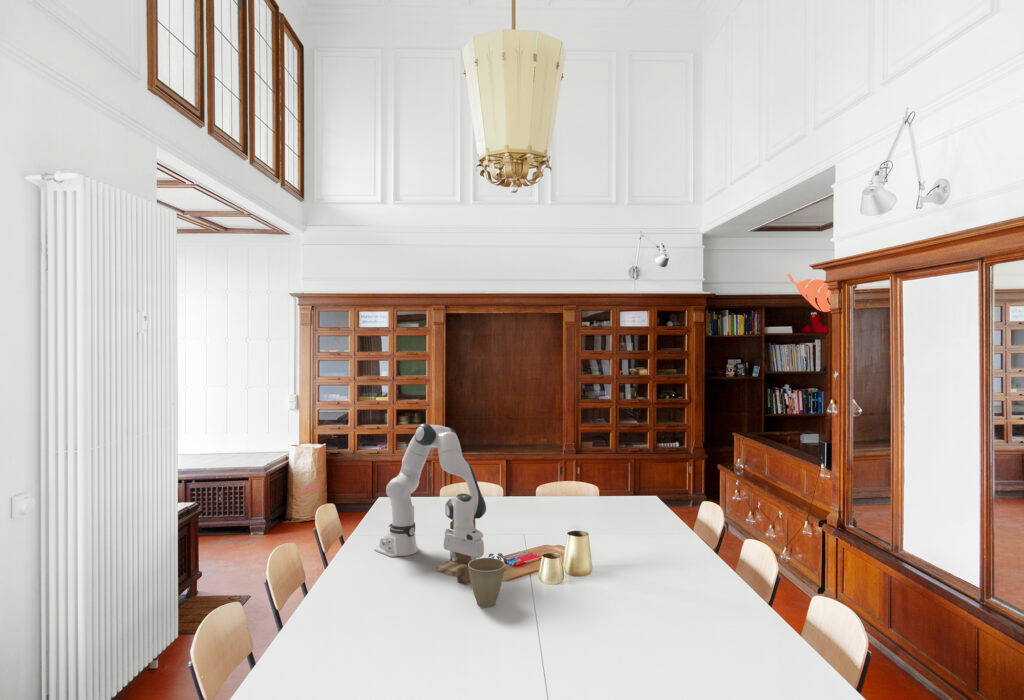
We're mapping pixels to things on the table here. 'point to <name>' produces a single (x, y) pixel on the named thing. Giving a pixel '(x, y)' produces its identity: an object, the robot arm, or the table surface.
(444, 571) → the board
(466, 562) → the wooden block
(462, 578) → the block
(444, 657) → the table surface
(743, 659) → the table surface
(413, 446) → the robot arm
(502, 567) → the plant pot
